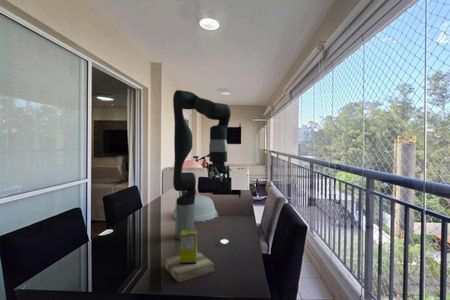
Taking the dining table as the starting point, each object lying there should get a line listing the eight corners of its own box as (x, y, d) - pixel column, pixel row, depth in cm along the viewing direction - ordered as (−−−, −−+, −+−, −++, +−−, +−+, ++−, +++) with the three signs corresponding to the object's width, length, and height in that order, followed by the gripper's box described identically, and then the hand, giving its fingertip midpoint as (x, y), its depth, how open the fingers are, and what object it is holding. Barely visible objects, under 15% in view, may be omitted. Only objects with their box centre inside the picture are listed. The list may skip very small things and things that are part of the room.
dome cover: (223, 212, 181) (223, 193, 181) (211, 224, 152) (211, 201, 152) (182, 210, 189) (182, 191, 189) (163, 220, 160) (163, 198, 160)
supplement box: (197, 257, 96) (197, 229, 96) (196, 264, 90) (196, 234, 90) (181, 257, 96) (181, 229, 96) (179, 264, 90) (179, 234, 90)
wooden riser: (164, 266, 95) (164, 258, 95) (197, 258, 103) (197, 250, 103) (178, 282, 83) (178, 273, 83) (214, 271, 91) (214, 263, 91)
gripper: (202, 150, 108) (202, 187, 108) (218, 150, 96) (218, 192, 96) (217, 150, 112) (217, 186, 112) (235, 150, 100) (234, 190, 100)
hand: (218, 189), depth 104 cm, fingers open, 8 cm apart
